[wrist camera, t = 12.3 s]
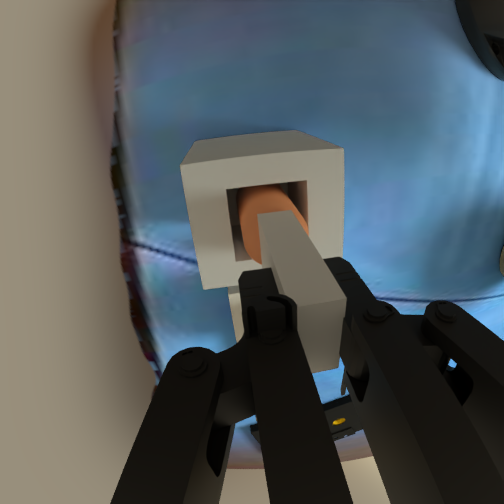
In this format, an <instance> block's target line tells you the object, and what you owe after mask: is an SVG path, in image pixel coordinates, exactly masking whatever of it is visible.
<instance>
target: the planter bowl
mask: <svg viewBox="0 0 504 504" xmlns="http://www.w3.org/2000/svg"><path fill="white" fill-rule="evenodd" d="M500 271H501V273H502V275H503V276H504V246H503V249H502V252H501V256H500Z"/></svg>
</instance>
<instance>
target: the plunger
mask: <svg viewBox="0 0 504 504" xmlns="http://www.w3.org/2000/svg"><path fill="white" fill-rule="evenodd" d="M236 203H237V209H238V214H239V220H240V225H241V230H242V236H243V241H244V246H245V249H246V251H247V253H248V255H249V256H250V257H251V258H252V259H253V260H254V261H256V262H257V263H259V264H261V265H262V259H261V248H260V238H259V227H258V217H257V214H261V213H270V212H278V211H286V210H292V212H293V213H294V215H295V216H296V218H297V219H298V221H299V223H300V224H301V226H302V227H303V229H304V230H305V232H306V233H307V235H308V236H309V230H308V226H307V223H306V221H305V220H304V218H303V217H302V215H301V214H300V212H299V211H298V210H297V208H296V207H295V205H294V204H293V203H292V201H291V200H290V198H289V197H288V196H287V194H286V193H285V192H284V190H283V189H282V187H281V186H280V185H279V183H274V184H265V185H257V186H248V187H240V188H238V191H237V194H236Z"/></svg>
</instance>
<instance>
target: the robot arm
mask: <svg viewBox="0 0 504 504" xmlns="http://www.w3.org/2000/svg"><path fill="white" fill-rule="evenodd" d="M455 1H456V6H457V10H458V14H459V17H460V20H461V23H462V25H463V28H464V30H465V33H466V35H467V37H468V39H469V41H470V43H471V45H472V47H473V48H474V50H475V52H476V53H477V55H478V56H479V58H480V59H481V61H482V62H483V63H484V64H485V66H486V67H487V68H488V69H489V70H490V71H491V72H492V73H493V74H494V75H495V76H497V77H498V78H499V79H501V80H503V81H504V0H455ZM257 217H258V227H259V238H260V248H261V259H262V269H256V270H249V271H243V272H242V274H241V276H240V277H239V279H238V284H239V292H240V300H241V308H242V313H241V314H242V321H243V327H244V333H243V336H242V338H241V339H240V340H239V342H238V343H236V344H235V345H234V346H233V347H231V348H229V349H227V350H224V351H222V352H219V353H214V352H213V351H211V350H210V349H207V348H203V347H190V348H187V349H184V350H181V351H179V352H178V353H176V354H175V355H174V356H172V358H171V359H170V360H169V362H168V363H167V365H166V368H165V370H164V372H163V375H162V377H161V379H160V382H159V384H158V386H157V389H156V391H155V393H154V396H153V398H152V401H151V403H150V405H149V408H148V410H147V412H146V415H145V417H144V420H143V422H142V425H141V427H140V429H139V432H138V435H137V437H136V440H135V442H134V444H133V447H132V449H131V452H130V454H129V457H128V459H127V462H126V464H125V467H124V469H123V472H122V474H121V477H120V480H119V482H118V485H117V487H116V490H115V493H114V495H113V498H112V500H111V503H110V504H219V500H220V496H221V491H222V486H223V481H224V477H225V472H226V467H227V463H228V458H229V453H230V448H231V443H232V438H233V434H234V429H235V423H237V422H239V421H242V420H244V419H246V418H249V417H251V416H253V415H256V417H257V423H258V430H259V437H260V443H261V450H262V456H263V462H264V469H265V475H266V481H267V487H268V493H269V499H270V504H353V501H352V498H351V495H350V491H349V488H348V485H347V481H346V479H345V475H344V472H343V469H342V466H341V462H340V459H339V456H338V453H337V450H336V446H335V443H334V440H333V437H332V434H331V431H330V428H329V424H328V421H327V418H326V415H325V412H324V409H323V406H322V403H321V400H320V397H319V394H318V391H317V388H316V385H315V382H314V379H313V375H312V373H316V372H321V371H326V370H331V369H335V368H338V366H339V359H340V357H341V359H342V362H343V364H344V366H345V368H344V374H343V379H342V385H341V395H345V391H346V387H347V389H348V392H349V394H350V397H351V399H352V402H353V404H354V407H355V409H356V412H357V415H358V417H359V420H360V422H361V425H362V427H363V430H364V433H365V435H366V438H367V440H368V443H369V446H370V448H371V451H372V454H373V456H374V459H375V462H376V464H377V467H378V470H379V473H380V475H381V478H382V480H383V483H384V486H385V489H386V492H387V495H388V498H389V500H390V503H391V504H504V341H503V340H502V339H501V338H499V337H498V336H497V335H496V334H494V333H493V332H492V331H491V330H489V329H488V328H487V327H485V326H484V325H483V324H482V323H480V322H479V321H478V320H476V319H475V318H474V317H473V316H471V315H470V314H469V313H467V312H466V311H465V310H463V309H462V308H461V307H459V306H458V305H456V304H454V303H452V302H448V301H441V300H437V301H434V302H431V303H430V304H429V305H427V306H426V310H425V313H424V315H403V314H400V313H399V312H398V310H397V309H396V308H395V307H393V306H392V305H391V304H389V303H387V302H384V301H379V300H376V298H375V297H374V295H373V294H372V293H371V291H370V290H369V288H368V287H367V286H366V284H365V283H364V281H363V280H362V279H360V276H359V275H358V273H357V272H356V270H355V269H354V268H353V266H352V265H351V264H350V263H349V262H348V261H346V260H344V259H343V258H341V257H332V258H326V259H322V257H321V255H320V254H319V252H318V251H317V249H316V247H315V246H314V244H313V243H312V241H311V240H310V238H309V236H308V235H307V233H306V232H305V230H304V229H303V227H302V226H301V224H300V223H299V221H298V219H297V218H296V216H295V215H294V213H293V212H292V210H286V211H278V212H270V213H261V214H257ZM450 359H452V360H453V361H455V362H456V363H457V365H456V367H455V368H453V367H450V366H449V365H448V363H449V361H450Z"/></svg>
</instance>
